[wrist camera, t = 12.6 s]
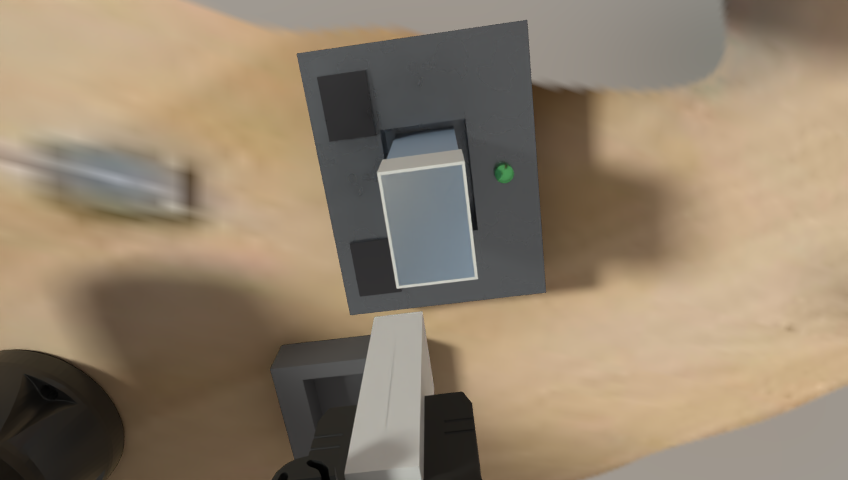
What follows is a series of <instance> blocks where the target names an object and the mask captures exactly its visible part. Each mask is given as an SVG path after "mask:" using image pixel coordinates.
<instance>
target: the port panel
mask: <svg viewBox="0 0 848 480" xmlns="http://www.w3.org/2000/svg"><path fill="white" fill-rule="evenodd" d="M527 25H528V24H527V20H523V21H517V22H509V23H503V24H496V25H489V26H482V27H475V28H469V29H462V30H455V31H448V32H442V33H435V34H428V35H421V36H414V37H407V38H400V39H393V40H387V41H380V42H373V43H366V44H359V45H352V46H346V47H339V48H332V49H325V50H318V51H311V52H305V53H298V54H297V57H298V62H299V67H300V72H301V77H302V82H303V87H304V92H305V97H306V101H307V106H308V111H309V116H310V121H311V126H312V131H313V136H314V140H315V145H316V150H317V155H318V160H319V165H320V170H321V175H322V180H323V184H324V189H325V194H326V199H327V204H328V209H329V214H330V219H331V223H332V228H333V233H334V238H335V243H336V248H337V253H338V258H339V263H340V267H341V272H342V277H343V282H344V287H345V292H346V297H347V302H348V306H349V311H350V315H356V314H365V313H374V312H382V311H391V310H399V309H408V308H417V307H425V306H434V305H442V304H451V303H460V302H468V301H477V300H486V299H494V298H503V297H511V296H520V295H529V294H537V293H546V286H545V271H544V257H543V242H542V228H541V213H540V199H539V184H538V169H537V155H536V140H535V126H534V111H533V97H532V82H531V68H530V53H529V39H528V26H527ZM451 126H454V131H455V135H456V140H457V145H458V149H462V153H463V157H464V161H465V169H466V178H467V187H468V196H469V204H470V213H471V222H472V231H473V239H474V248H475V257H476V266H477V275H478V279H475V280H467V281H458V282H450V283H441V284H433V285H424V286H416V287H408V288H399V289H397V288H396V282H395V276H394V270H393V264H392V258H391V252H390V246H389V241H388V235H387V229H386V223H385V217H384V211H383V205H382V199H381V193H380V188H379V182H378V176H377V171H378V169H379V166H380V164H381V161H382V160H383V159H387V156H388V154H389V151H390V148H391V146H392V143H393V140H394V138H395V135H396V134H399V133H407V132H414V131H421V130H429V129H436V128H444V127H451Z"/></svg>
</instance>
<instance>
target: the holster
mask: <svg viewBox="0 0 848 480" xmlns="http://www.w3.org/2000/svg"><path fill="white" fill-rule="evenodd" d="M370 337H371V335H367V336H358V337H349V338H340V339H331V340H323V341H314V342H305V343H296V344H287V345H282V346H281V348H280V350H279V352H278V354H277V356H276V358H275V360H274V362H273V364H272V366H271V368H270V371H271V374H272V378H273V382H274V385H275V389H276V393H277V396H278V400H279V404H280V408H281V411H282V415H283V419H284V422H285V426H286V430H287V433H288V437H289V441H290V445H291V448H292V452H293V456H294V459H297V458H301V457H305V456H308V455H309V452H310V451H311V445H312V441H313V439H314V434H315V431H316V427H317V424H318V421H319V420H320V419H321V417H322V416H323V415H324V414H325V413H326V411H327V410H328V409H329V408H333V407H342V406H351V405H358V400H359V394H360V389H361V384H362V379H363V373H364V368H365V363H366V358H367V353H368V347H369V342H370Z"/></svg>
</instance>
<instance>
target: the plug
mask: <svg viewBox="0 0 848 480" xmlns="http://www.w3.org/2000/svg"><path fill="white" fill-rule="evenodd" d="M377 176H378V182H379V188H380V193H381V199H382V205H383V211H384V217H385V223H386V229H387V235H388V241H389V246H390V252H391V258H392V264H393V270H394V276H395V282H396V288H397V289H399V288H408V287H416V286H424V285H433V284H441V283H450V282H458V281H467V280H475V279H478V275H477V266H476V257H475V248H474V239H473V231H472V222H471V213H470V204H469V196H468V187H467V178H466V169H465V161H464V157H463V153H462V149H458V145H457V140H456V135H455V131H454V126H451V127H444V128H436V129H429V130H421V131H414V132H407V133H399V134H396V135H395V138H394V140H393V143H392V146H391V148H390V151H389V154H388V156H387V159H383V160H382V161H381V164H380V166H379V169H378V171H377Z"/></svg>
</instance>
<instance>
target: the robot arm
mask: <svg viewBox="0 0 848 480" xmlns="http://www.w3.org/2000/svg"><path fill="white" fill-rule="evenodd" d="M123 446H124V432H123V426H122V422H121V419H120V417H119V414H118V412H117V410H116V408H115V406H114V404H113V403H112V401H111V400H110V398H109V397H108V396H107V394H106V393H105V392H104V391H103V390H102V389H101V388H100V386H99V385H98V384H96V383H95V382H94V381H93V380H92V379H91V378H90V377H88V376H87V375H86V374H84V373H83V372H82V371H80V370H78V369H77V368H75V367H73V366H72V365H70V364H68V363H66V362H64V361H62V360H59V359H57V358H54V357H52V356H49V355H45V354H42V353H37V352H32V351H25V350H2V351H0V480H106V479H107V478H108V477H109V475H110V474H111V473H112V471H113V470H114V469H115V467H116V466H117V464H118V462H119V460H120V458H121V455H122V452H123ZM272 480H482V478H481V471H480V463H479V455H478V447H477V439H476V431H475V424H474V416H473V408H472V403H471V402H470V400H469V399H468V398H467V397H466V395H465V394H464V393H463V392H455V393H446V394H437V395H434V383H433V376H432V370H431V363H430V357H429V351H428V344H427V338H426V331H425V325H424V318H423V312H422V311H421V312H412V313H404V314H396V315H388V316H379V317H374V321H373V326H372V332H371V337H370V342H369V347H368V353H367V358H366V363H365V368H364V373H363V379H362V384H361V389H360V394H359V400H358V405H351V406H342V407H333V408H329V409H328V410H327V411H326V413H325V414H324V415H323V416H322V417H321V419H320V420H319V421H318V424H317V427H316V431H315V434H314V439H313V441H312V445H311V451H310V452H309V455H308V456H305V457H301V458H297V459H295V460H293V461H291V462H289V463H287V464H285V465H284V466H283V467H282V468H281V469H280V470H279V471H278V472H276V474H275V476H274V477H273V479H272Z"/></svg>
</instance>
